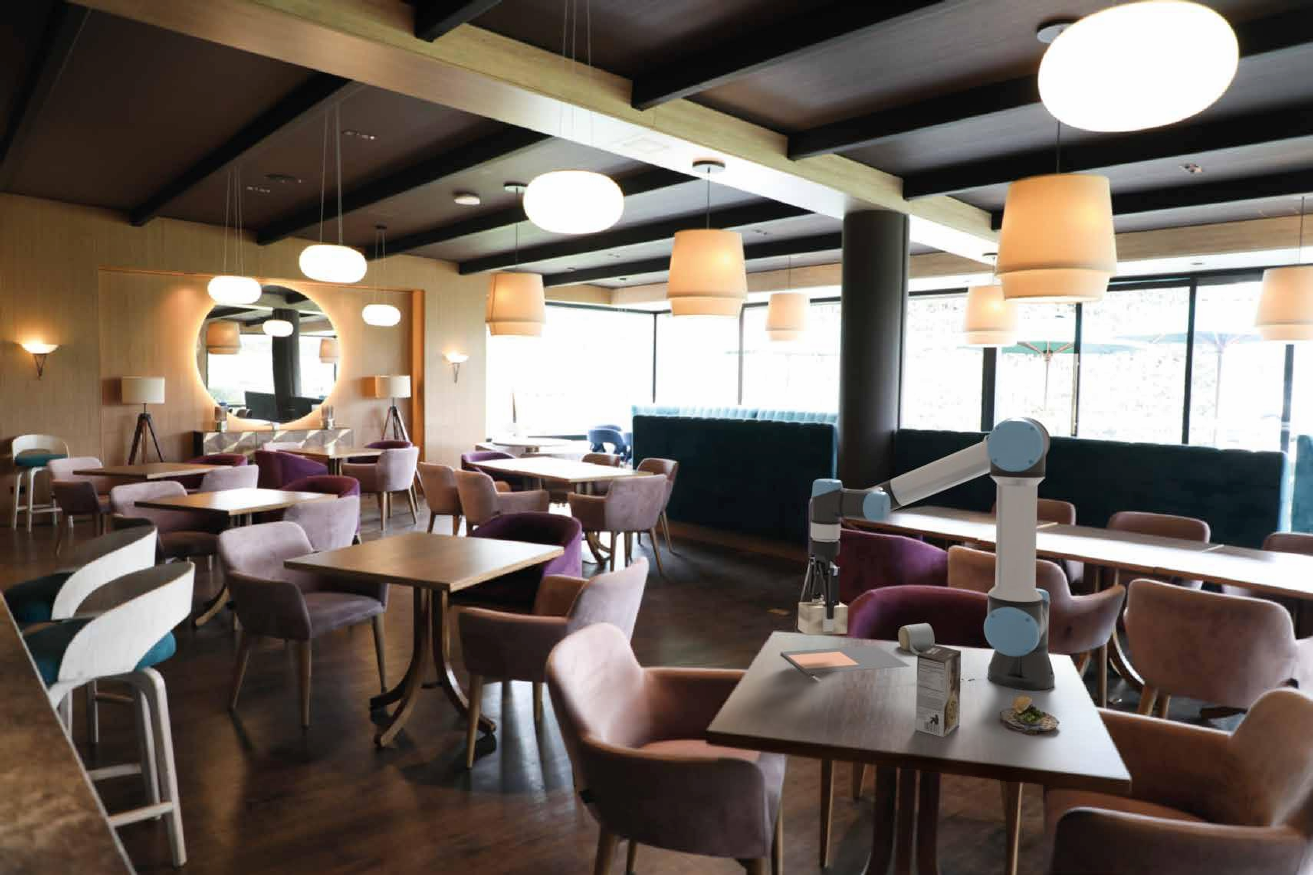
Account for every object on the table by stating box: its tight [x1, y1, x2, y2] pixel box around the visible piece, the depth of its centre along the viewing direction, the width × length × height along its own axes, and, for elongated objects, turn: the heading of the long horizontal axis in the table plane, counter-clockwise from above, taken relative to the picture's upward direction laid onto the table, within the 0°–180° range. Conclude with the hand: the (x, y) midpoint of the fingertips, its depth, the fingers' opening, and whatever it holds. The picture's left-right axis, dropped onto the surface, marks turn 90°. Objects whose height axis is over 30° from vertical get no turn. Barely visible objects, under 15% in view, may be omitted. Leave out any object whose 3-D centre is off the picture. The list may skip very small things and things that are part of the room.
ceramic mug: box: [897, 622, 936, 656], centre depth 231 cm, size 10×8×7 cm
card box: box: [797, 600, 849, 637], centre depth 221 cm, size 11×6×7 cm, turn 104°
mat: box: [780, 644, 911, 677], centre depth 223 cm, size 18×28×1 cm, turn 104°
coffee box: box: [915, 644, 962, 738], centre depth 179 cm, size 9×6×16 cm
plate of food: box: [998, 691, 1060, 737], centre depth 181 cm, size 12×12×8 cm
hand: (822, 627), depth 221 cm, fingers closed on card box, 6 cm apart
